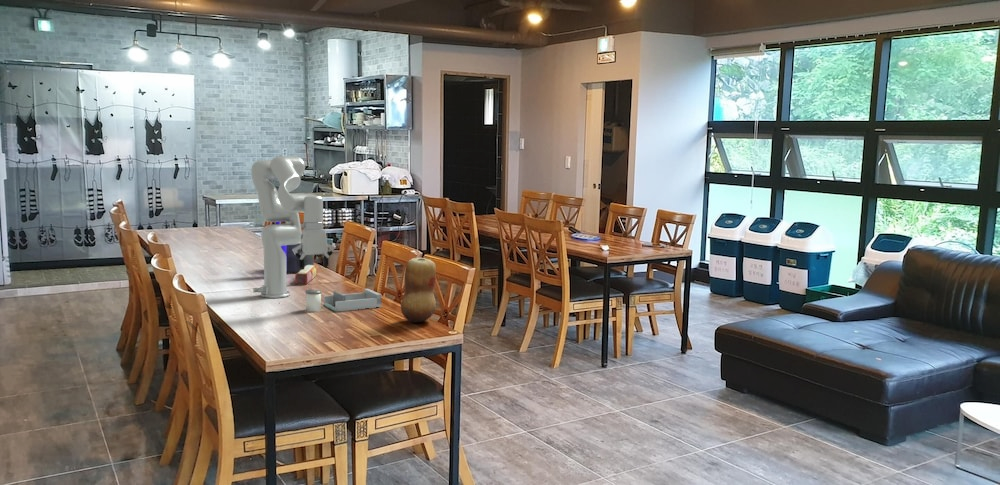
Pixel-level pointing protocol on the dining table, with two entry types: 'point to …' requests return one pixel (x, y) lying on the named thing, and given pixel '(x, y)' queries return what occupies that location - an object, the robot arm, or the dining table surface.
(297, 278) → the snack package
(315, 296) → the jar
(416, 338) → the dining table surface
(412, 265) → the butternut squash
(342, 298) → the pusher
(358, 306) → the grey tray
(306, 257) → the planter
